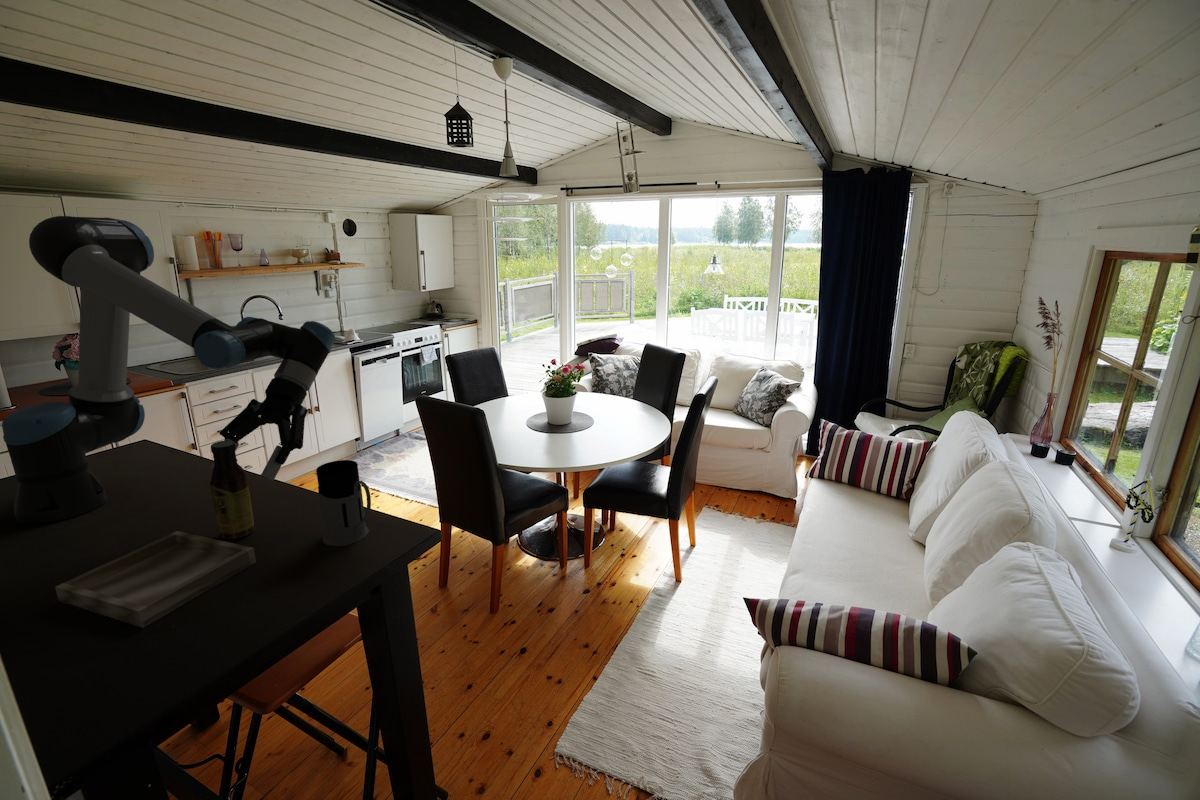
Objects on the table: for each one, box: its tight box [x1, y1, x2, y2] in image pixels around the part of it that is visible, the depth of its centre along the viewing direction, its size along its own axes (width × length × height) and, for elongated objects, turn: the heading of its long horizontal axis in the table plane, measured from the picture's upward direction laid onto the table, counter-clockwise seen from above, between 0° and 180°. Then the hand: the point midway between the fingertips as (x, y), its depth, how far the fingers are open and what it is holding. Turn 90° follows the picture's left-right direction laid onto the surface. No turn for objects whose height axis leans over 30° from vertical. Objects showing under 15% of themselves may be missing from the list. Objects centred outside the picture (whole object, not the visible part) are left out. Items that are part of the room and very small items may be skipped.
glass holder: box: [315, 459, 372, 547], centre depth 112 cm, size 9×14×15 cm, turn 56°
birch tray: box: [54, 530, 257, 629], centre depth 100 cm, size 20×20×3 cm
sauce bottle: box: [209, 439, 255, 541], centre depth 114 cm, size 6×6×20 cm
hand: (241, 474), depth 115 cm, fingers open, 13 cm apart
